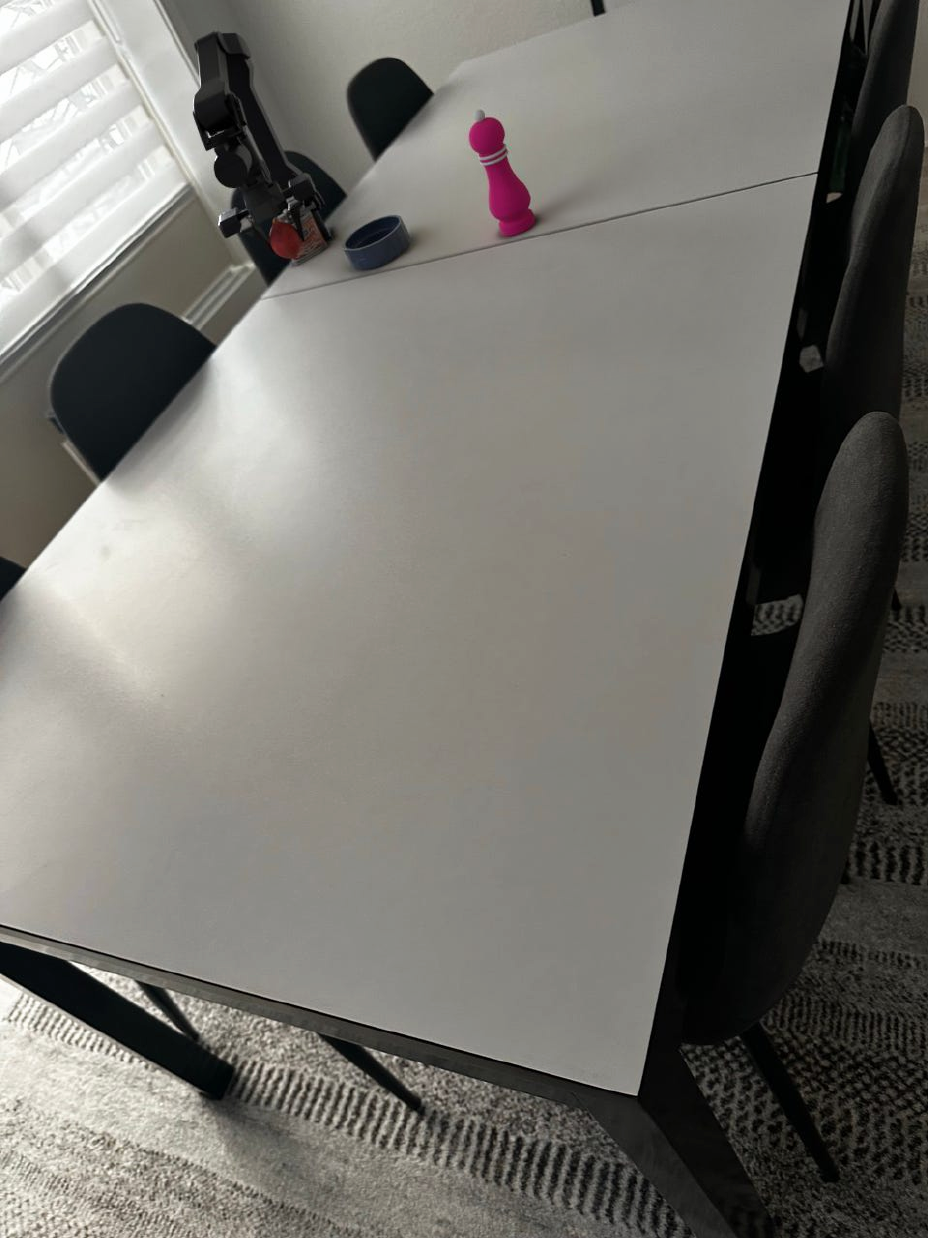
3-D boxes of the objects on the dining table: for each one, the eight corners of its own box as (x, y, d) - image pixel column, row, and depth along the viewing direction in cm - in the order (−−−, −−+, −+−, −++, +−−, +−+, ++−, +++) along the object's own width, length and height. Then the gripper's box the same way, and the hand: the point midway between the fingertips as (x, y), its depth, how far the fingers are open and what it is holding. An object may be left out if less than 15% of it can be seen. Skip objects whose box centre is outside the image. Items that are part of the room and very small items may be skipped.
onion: (304, 261, 174) (282, 220, 169) (277, 270, 176) (256, 230, 171) (311, 246, 178) (291, 206, 173) (286, 255, 180) (265, 216, 175)
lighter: (296, 266, 192) (273, 221, 185) (291, 261, 194) (268, 217, 187) (329, 245, 193) (307, 200, 186) (323, 241, 195) (301, 196, 188)
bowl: (350, 256, 184) (340, 235, 181) (407, 229, 182) (398, 207, 179) (355, 279, 174) (345, 257, 171) (415, 251, 173) (405, 228, 170)
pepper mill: (543, 212, 163) (504, 94, 150) (530, 233, 158) (489, 114, 145) (506, 220, 166) (466, 106, 153) (493, 241, 162) (450, 125, 149)
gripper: (198, 204, 160) (245, 285, 171) (294, 156, 158) (336, 241, 168) (201, 185, 169) (246, 263, 179) (292, 139, 166) (332, 221, 177)
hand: (289, 248), depth 175 cm, fingers closed on onion, 6 cm apart
